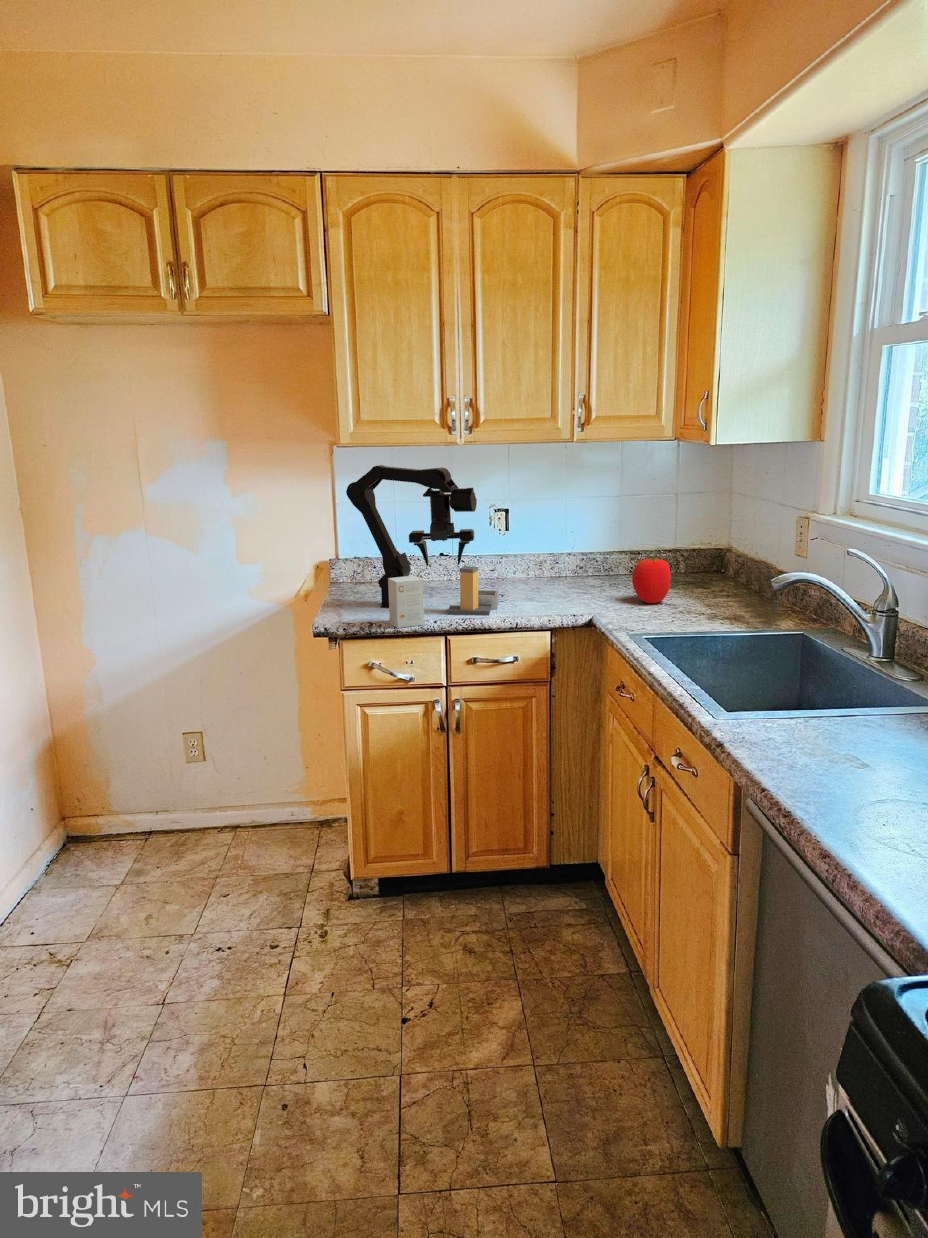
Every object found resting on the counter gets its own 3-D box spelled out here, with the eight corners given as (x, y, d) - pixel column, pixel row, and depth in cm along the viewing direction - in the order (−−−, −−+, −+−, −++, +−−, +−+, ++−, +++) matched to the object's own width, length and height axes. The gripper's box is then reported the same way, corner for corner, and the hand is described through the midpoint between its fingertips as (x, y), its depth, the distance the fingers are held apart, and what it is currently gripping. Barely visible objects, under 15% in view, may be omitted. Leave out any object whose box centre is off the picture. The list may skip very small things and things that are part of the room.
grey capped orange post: (459, 609, 243) (459, 568, 240) (465, 606, 247) (465, 566, 244) (473, 610, 242) (473, 569, 239) (478, 607, 246) (478, 567, 243)
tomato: (663, 608, 248) (666, 561, 244) (626, 604, 253) (628, 558, 249) (674, 599, 259) (676, 554, 255) (638, 596, 264) (640, 551, 260)
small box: (416, 620, 236) (415, 574, 233) (424, 625, 231) (423, 579, 227) (389, 623, 233) (387, 577, 230) (396, 628, 227) (395, 581, 224)
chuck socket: (471, 608, 249) (471, 595, 248) (473, 602, 256) (473, 590, 255) (496, 609, 248) (496, 596, 247) (498, 603, 255) (498, 590, 254)
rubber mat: (447, 614, 242) (447, 610, 242) (450, 609, 248) (450, 605, 248) (489, 615, 241) (489, 611, 241) (490, 609, 247) (490, 606, 247)
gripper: (404, 516, 235) (407, 570, 239) (470, 514, 234) (472, 569, 237) (410, 511, 246) (413, 563, 250) (473, 509, 244) (475, 562, 248)
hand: (443, 564), depth 246 cm, fingers open, 9 cm apart
